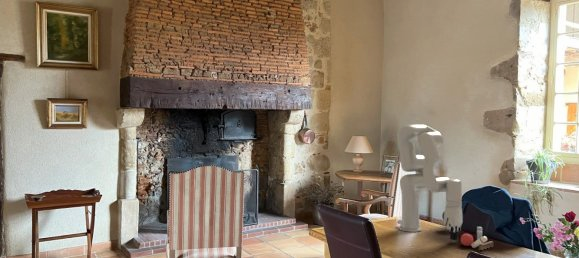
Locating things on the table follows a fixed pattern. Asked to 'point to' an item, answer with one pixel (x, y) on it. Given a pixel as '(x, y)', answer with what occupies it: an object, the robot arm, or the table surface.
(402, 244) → the table surface
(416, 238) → the table surface
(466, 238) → the ball
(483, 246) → the backstop
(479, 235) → the slate-blue pin
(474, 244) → the ivory pin
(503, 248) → the table surface
